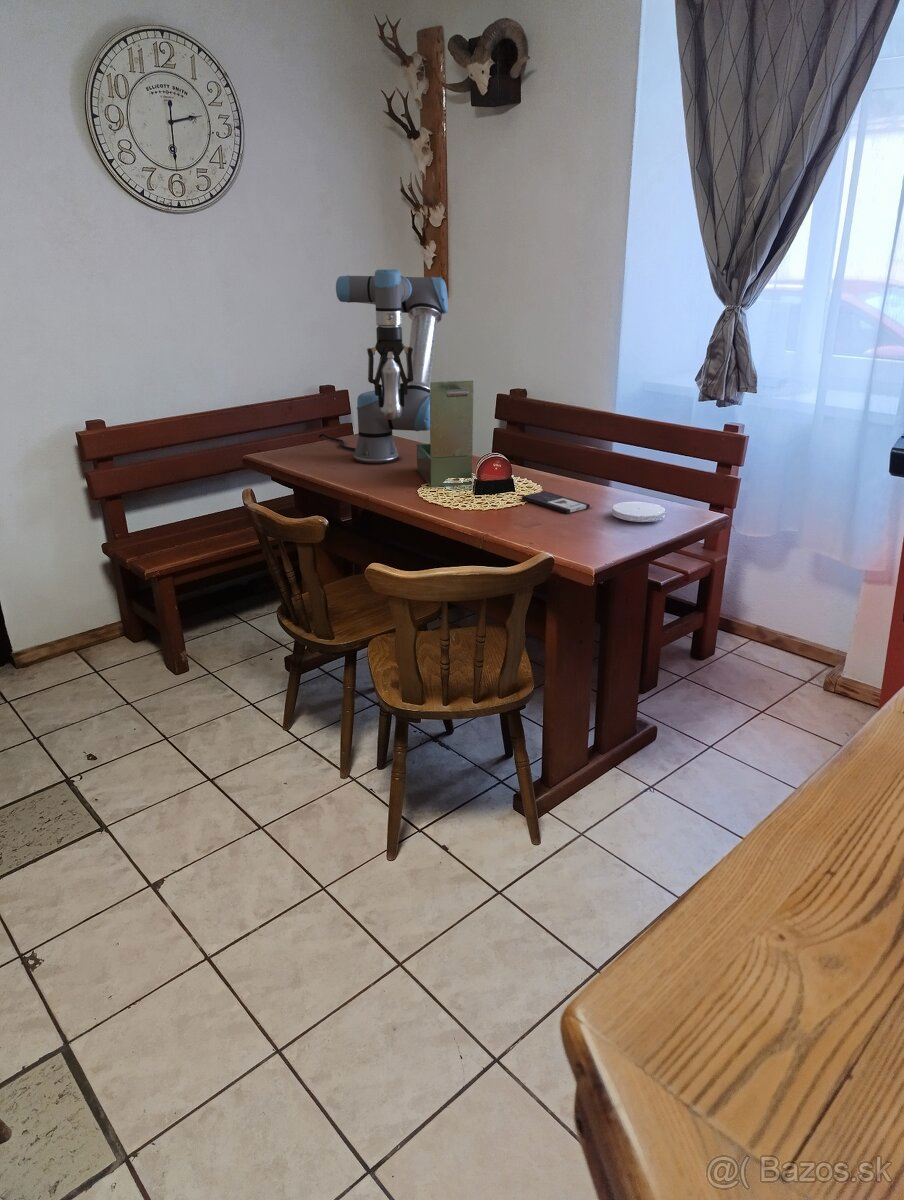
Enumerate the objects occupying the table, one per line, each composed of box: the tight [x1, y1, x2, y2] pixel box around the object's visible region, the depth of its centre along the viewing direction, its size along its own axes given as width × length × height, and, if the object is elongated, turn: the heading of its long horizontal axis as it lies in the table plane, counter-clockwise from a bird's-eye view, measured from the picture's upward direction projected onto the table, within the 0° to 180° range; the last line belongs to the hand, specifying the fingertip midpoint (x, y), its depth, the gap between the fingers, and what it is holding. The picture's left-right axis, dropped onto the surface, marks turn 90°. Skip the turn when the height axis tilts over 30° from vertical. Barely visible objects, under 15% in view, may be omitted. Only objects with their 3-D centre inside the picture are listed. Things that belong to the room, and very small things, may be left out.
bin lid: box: [429, 380, 474, 458], centre depth 238 cm, size 22×13×8 cm
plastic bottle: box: [380, 352, 402, 420], centre depth 244 cm, size 6×7×20 cm
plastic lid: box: [611, 501, 667, 523], centre depth 218 cm, size 14×14×2 cm
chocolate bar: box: [521, 490, 590, 514], centre depth 231 cm, size 9×1×18 cm
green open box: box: [416, 443, 473, 488], centre depth 257 cm, size 21×13×9 cm, turn 14°
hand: (391, 406), depth 247 cm, fingers closed on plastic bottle, 6 cm apart
